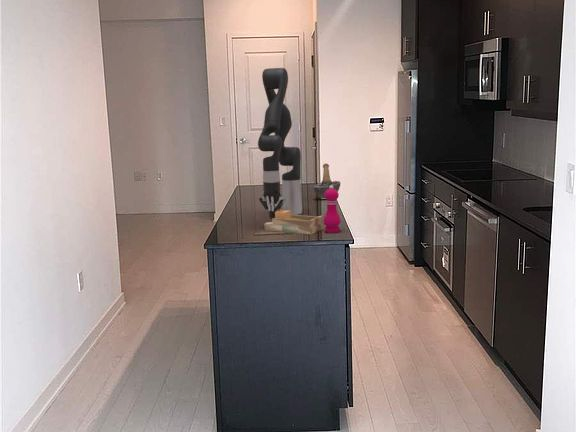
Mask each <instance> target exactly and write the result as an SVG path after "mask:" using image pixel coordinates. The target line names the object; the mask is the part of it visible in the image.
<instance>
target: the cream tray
mask: <svg viewBox="0 0 576 432" xmlns="http://www.w3.org/2000/svg"><path fill="white" fill-rule="evenodd" d="M263 225H264V231H271V232H279V233H280V232H281V233H282V232H283V233H292V234H302V235H314V234H315V233H318V232H319V230H320V231H323V229H324V218H323V215H319V216H316V215H315V216H314V215H301V214H298V215H291V219H280V218H272V219H271V221H268V222H265V223H264V224H263ZM317 231H318V232H317Z"/></svg>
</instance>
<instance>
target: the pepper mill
mask: <svg viewBox="0 0 576 432" xmlns="http://www.w3.org/2000/svg"><path fill="white" fill-rule="evenodd" d="M329 188H330V189H328V190H327V191H326V192H325V198H326V200H325V202H326V203H325V204H326V207H327V209H326V212H325V215H324V218H323V225H325V227H324V232H325V233H327V234H336V233H340V231H341V230H340V226H339V225H340V224H341V217H340V215H339V212H338V208H337V207H338V206H337V205H338V198H339V195H340V194H339V190H338V191H337V190H335V189H333V188H334V187H333V186H332V185H331V186H330V187H329ZM335 232H336V233H335Z"/></svg>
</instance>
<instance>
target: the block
mask: <svg viewBox="0 0 576 432" xmlns="http://www.w3.org/2000/svg"><path fill="white" fill-rule="evenodd" d="M275 218H280V219H291V213H290V211H289V210H283V209H279V210H276V212H275Z"/></svg>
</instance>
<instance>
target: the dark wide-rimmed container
mask: <svg viewBox="0 0 576 432" xmlns="http://www.w3.org/2000/svg"><path fill="white" fill-rule="evenodd" d="M329 167H330V164H328V163H323V165H322V168H323V171H322V172H323V174H322V180H321V182H319V183H317V184H314V185H313V190H314V191H313V192H315V195H316V196H317V197H318V198H320V199H321V198H325V192H326V191H327V190H328V189H330V188H329V187H330V186H331V185H332V186H333V187H334V188H333V189H335V190H337V191H338V192H339V191H340V187H341V181H339V180H338V181H337V180H335V181H332V180H331V176H330V169H329Z"/></svg>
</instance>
